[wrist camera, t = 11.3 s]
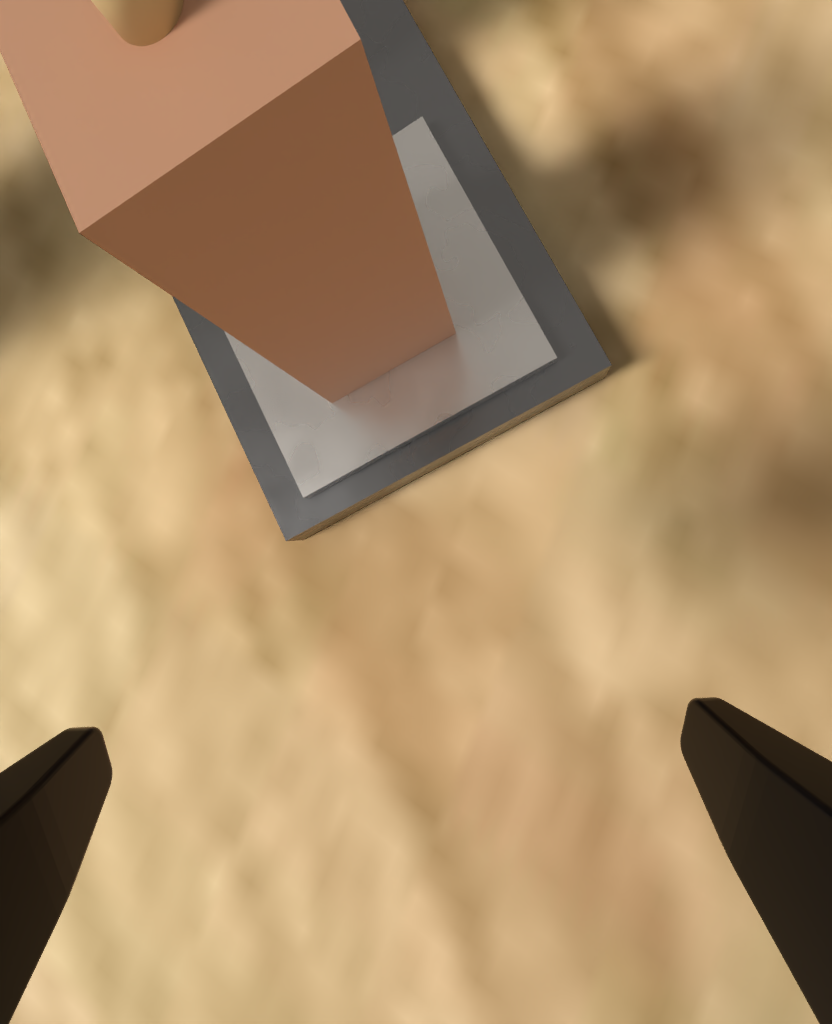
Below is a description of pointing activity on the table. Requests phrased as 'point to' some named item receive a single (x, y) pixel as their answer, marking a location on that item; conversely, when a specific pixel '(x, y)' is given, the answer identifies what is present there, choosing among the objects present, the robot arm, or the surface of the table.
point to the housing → (237, 171)
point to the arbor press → (447, 365)
